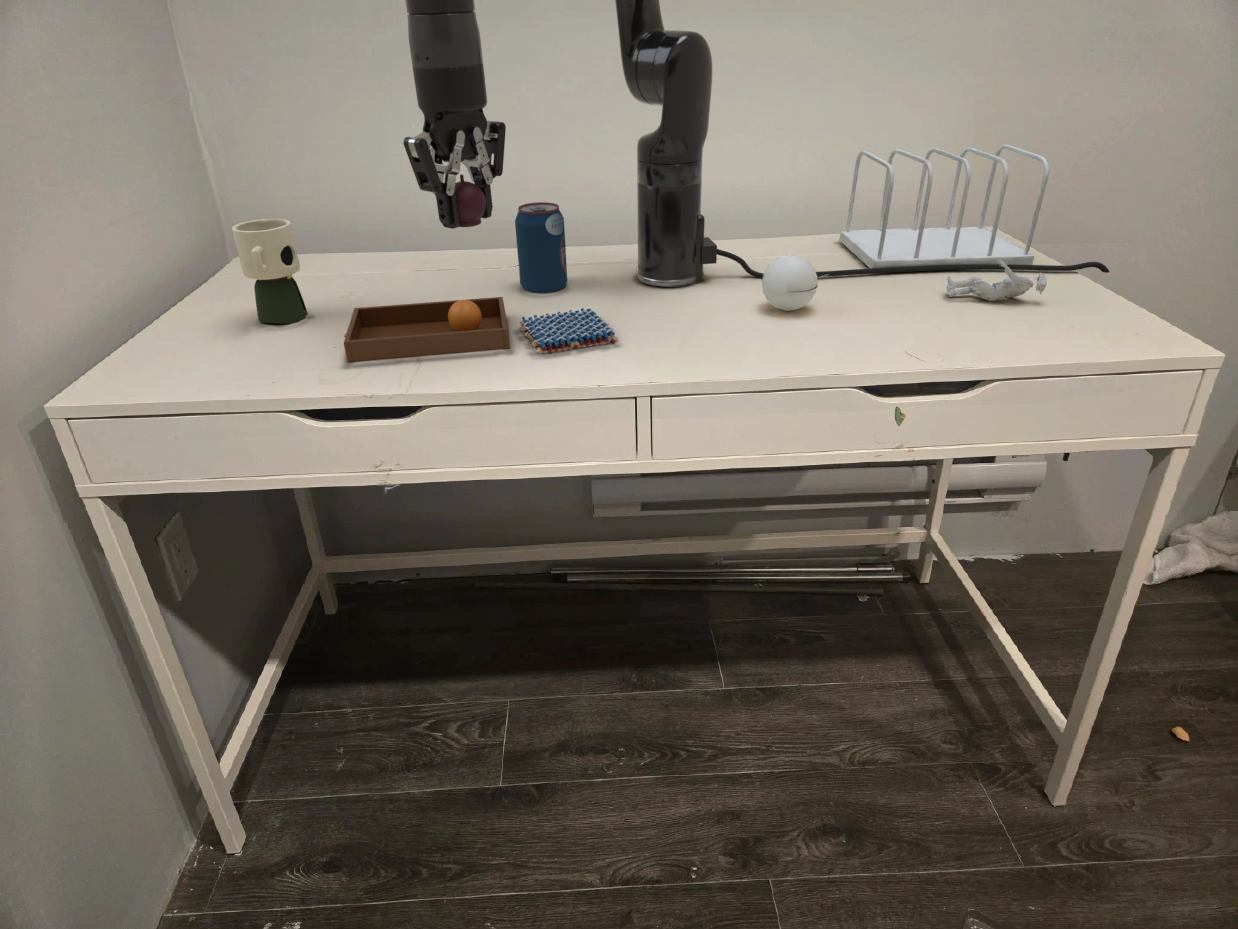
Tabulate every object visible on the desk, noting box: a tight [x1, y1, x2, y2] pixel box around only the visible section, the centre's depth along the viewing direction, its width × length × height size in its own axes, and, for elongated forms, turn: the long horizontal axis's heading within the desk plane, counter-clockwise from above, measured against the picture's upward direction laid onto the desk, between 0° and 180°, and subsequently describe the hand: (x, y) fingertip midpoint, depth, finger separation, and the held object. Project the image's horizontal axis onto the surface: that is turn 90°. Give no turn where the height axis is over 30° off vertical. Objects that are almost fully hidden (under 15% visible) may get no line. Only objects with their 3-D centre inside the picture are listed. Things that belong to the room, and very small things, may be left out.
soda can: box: [514, 201, 568, 294], centre depth 117 cm, size 7×7×12 cm
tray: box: [343, 296, 511, 363], centre depth 102 cm, size 19×12×3 cm, turn 100°
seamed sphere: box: [761, 254, 829, 312], centre depth 109 cm, size 10×7×7 cm
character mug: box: [231, 218, 309, 325], centre depth 107 cm, size 11×7×13 cm, turn 7°
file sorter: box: [838, 144, 1050, 269], centre depth 127 cm, size 25×17×16 cm
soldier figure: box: [946, 260, 1048, 302], centre depth 111 cm, size 8×5×12 cm
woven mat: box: [518, 307, 619, 355], centre depth 102 cm, size 10×11×2 cm
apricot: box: [448, 299, 482, 332], centre depth 103 cm, size 4×4×4 cm
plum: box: [453, 174, 486, 228], centre depth 94 cm, size 5×5×6 cm
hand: (467, 221), depth 95 cm, fingers closed on plum, 4 cm apart
